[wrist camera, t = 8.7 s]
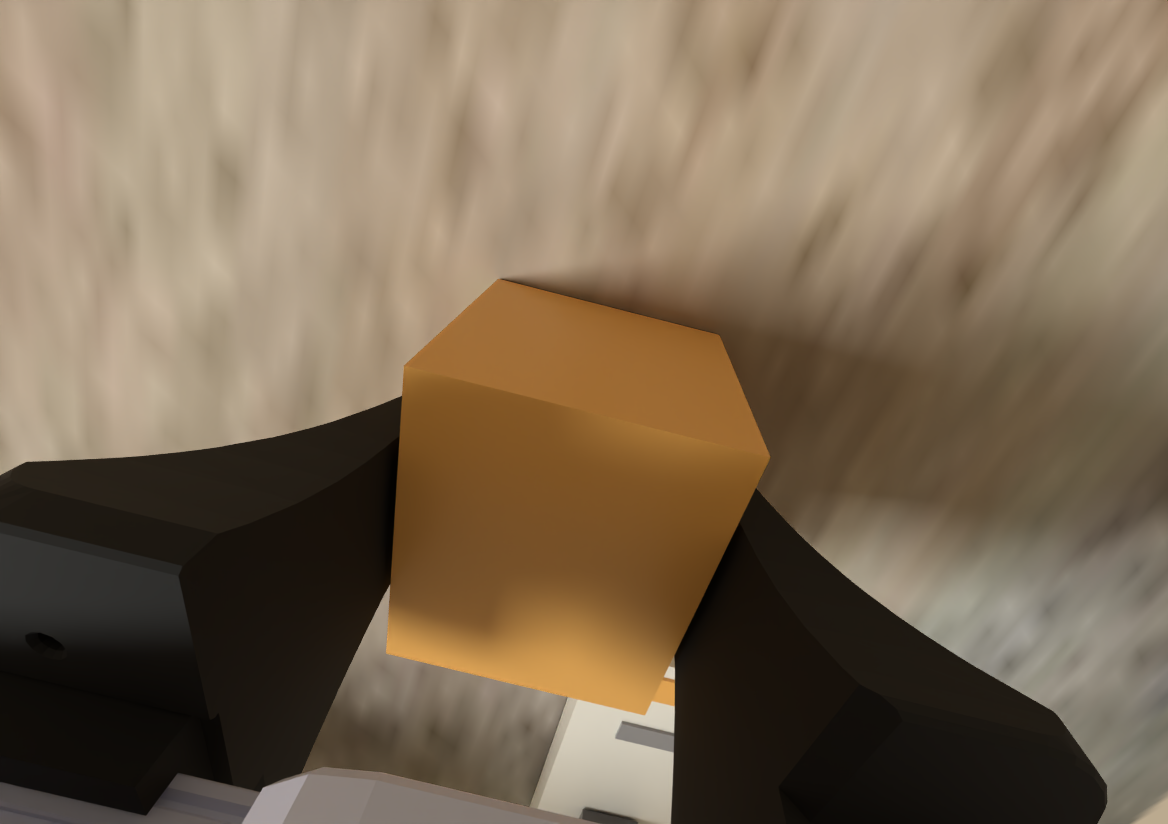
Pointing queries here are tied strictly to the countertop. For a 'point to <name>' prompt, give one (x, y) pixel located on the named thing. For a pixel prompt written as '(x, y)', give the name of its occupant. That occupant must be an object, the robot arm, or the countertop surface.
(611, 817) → the block
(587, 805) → the panel
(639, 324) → the cap
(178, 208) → the countertop surface
